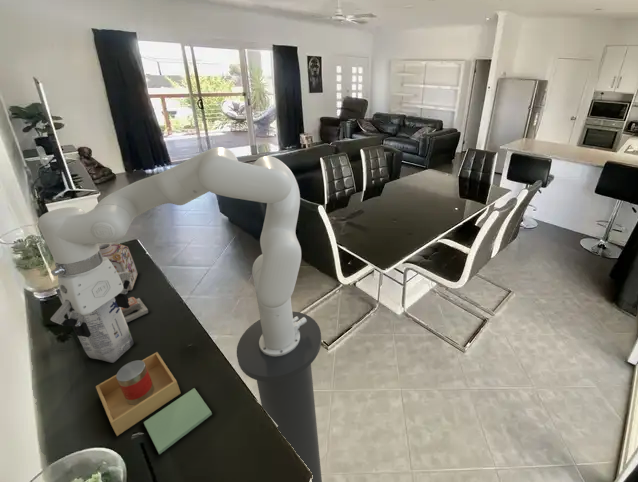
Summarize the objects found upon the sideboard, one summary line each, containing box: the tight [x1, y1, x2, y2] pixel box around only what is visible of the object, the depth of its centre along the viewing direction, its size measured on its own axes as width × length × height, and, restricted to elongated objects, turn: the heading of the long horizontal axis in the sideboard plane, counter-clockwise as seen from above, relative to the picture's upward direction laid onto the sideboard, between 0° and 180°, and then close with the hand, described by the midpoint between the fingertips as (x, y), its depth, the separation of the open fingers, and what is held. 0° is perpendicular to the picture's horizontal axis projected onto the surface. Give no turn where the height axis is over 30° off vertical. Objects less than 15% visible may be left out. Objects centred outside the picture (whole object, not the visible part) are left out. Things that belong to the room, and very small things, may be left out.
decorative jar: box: [98, 242, 139, 292], centre depth 123 cm, size 12×12×18 cm
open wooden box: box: [95, 351, 181, 437], centre depth 84 cm, size 14×14×5 cm
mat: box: [143, 387, 213, 455], centre depth 80 cm, size 12×10×1 cm
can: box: [115, 359, 154, 405], centre depth 83 cm, size 6×6×9 cm
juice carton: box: [55, 288, 134, 363], centre depth 93 cm, size 9×10×27 cm
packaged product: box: [120, 296, 149, 324], centre depth 109 cm, size 18×5×10 cm
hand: (105, 320), depth 78 cm, fingers open, 9 cm apart
